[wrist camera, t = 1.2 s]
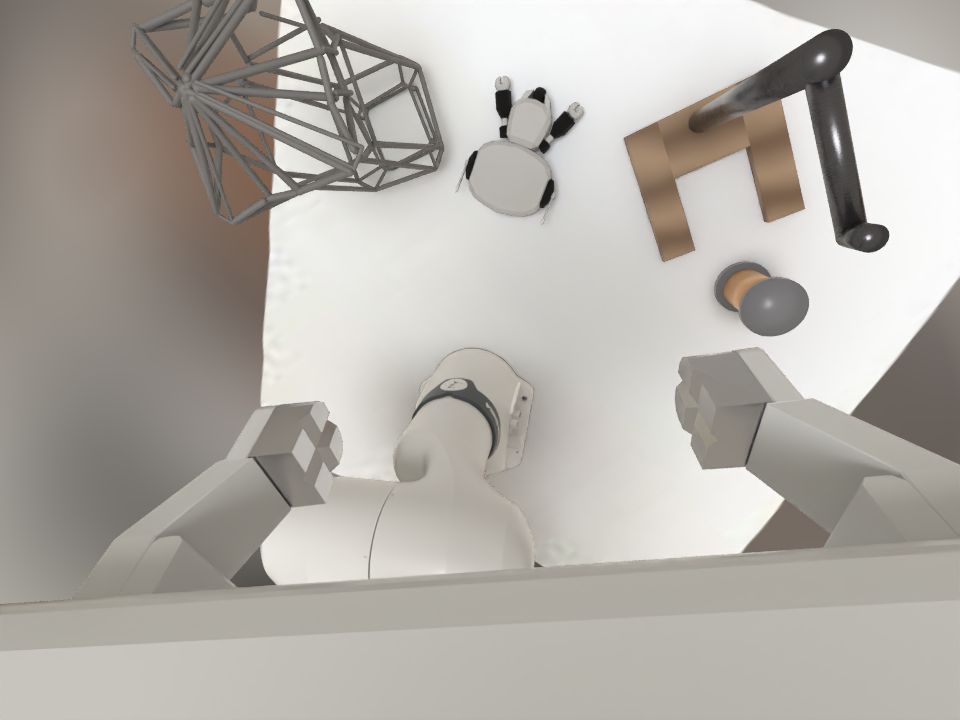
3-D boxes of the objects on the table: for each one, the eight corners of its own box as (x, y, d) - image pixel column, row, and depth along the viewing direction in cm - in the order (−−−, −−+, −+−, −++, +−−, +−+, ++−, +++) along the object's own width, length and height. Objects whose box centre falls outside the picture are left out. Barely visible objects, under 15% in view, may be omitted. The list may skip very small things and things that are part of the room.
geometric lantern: (470, 169, 59) (333, 169, 28) (372, 206, 64) (163, 240, 33) (431, 38, 54) (210, -141, 23) (328, 89, 59) (34, -1, 28)
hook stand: (736, 211, 53) (899, 243, 26) (714, 219, 54) (851, 259, 26) (708, 105, 50) (861, 11, 22) (686, 115, 50) (807, 37, 23)
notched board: (799, 208, 53) (805, 208, 51) (662, 259, 58) (664, 261, 57) (768, 68, 48) (773, 65, 47) (623, 138, 54) (624, 137, 52)
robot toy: (498, 77, 55) (460, 196, 60) (492, 65, 51) (452, 195, 56) (589, 110, 54) (542, 228, 60) (591, 101, 50) (540, 229, 55)
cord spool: (764, 309, 58) (802, 336, 48) (711, 310, 59) (737, 336, 49) (772, 260, 55) (814, 277, 45) (717, 262, 57) (745, 279, 47)
